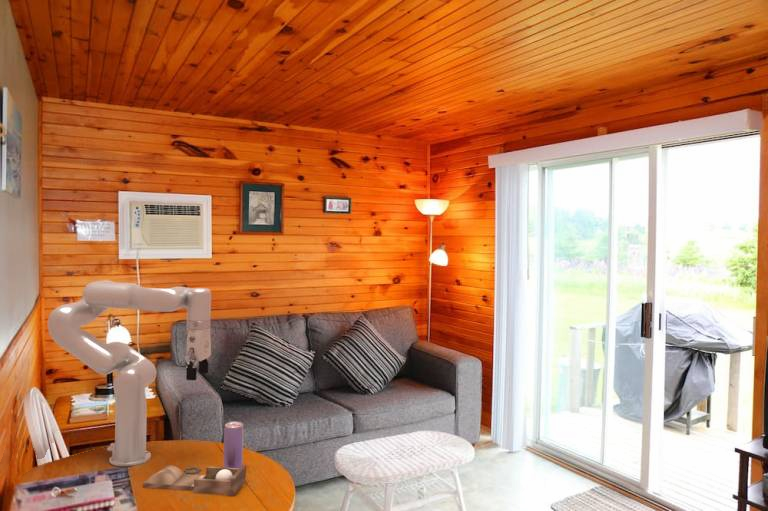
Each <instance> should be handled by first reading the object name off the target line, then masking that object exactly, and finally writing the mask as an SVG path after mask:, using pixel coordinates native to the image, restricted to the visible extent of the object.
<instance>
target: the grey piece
mask: <svg viewBox="0 0 768 511" xmlns="http://www.w3.org/2000/svg"><path fill="white" fill-rule="evenodd" d="M193 470H194V471H193ZM201 471H202V469H201V468H200V467H198V466H197V467H194V466H191V467H187V468H185V469H184V470H183V473H184V474H189V475H197V474H200V472H201Z"/></svg>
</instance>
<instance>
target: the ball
mask: <svg viewBox="0 0 768 511" xmlns="http://www.w3.org/2000/svg"><path fill="white" fill-rule="evenodd" d="M232 477H233V475H232V473H231V471H229V470H227V469H223V470H221V471H219V472H218V473H217V475H216V480H231V478H232Z"/></svg>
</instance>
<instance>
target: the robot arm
mask: <svg viewBox="0 0 768 511" xmlns="http://www.w3.org/2000/svg"><path fill="white" fill-rule="evenodd" d="M110 308H111V309H125V310H126V309H128V310H133V311H134V310H136V311H137V310H138V311H144V312H159V313H160V312H161V313H162V312H163V313H172V312H175V311H178V310H181V309H186V331H187V337H186V348H185V350H186V352H185V353H186V354H185V356H184V359H185V368H186V370H185V371H186V374H185V376H186V378H185V379H186V381H196V380H197V369H198V374H209V361H210V358H209V357H211V354H212V340H211V335H212V334H211V317H212V316H211V313H212V312H211V311H212V310H211V308H212V292H211V290H210V288H207V287H193V288H192V287H185V286H173V287H169V288H157V287H145V286H140V285H139V284H138V283H135V282H116V281H113V280H110V279H109V280H108V279H104V280H95V281H92V282H90V283H87V285H85V286H84V288H83V290H82V293H81V299H79V300H78V301H75V302H71V303H66V304H63V305H59V306H57V307H55V308H54V309H53V310H52V311H51V313H50V314H49V316H48V318H47V329H48V330H47V331H48V333H49V336H50V338H51V339H52V340H53V342H54V343H56V344H57V345H58V346H59V347H60V348H62V349H64V350H65V351H66V352H68V353H69V354H71V355H72V356H74V357H75V358H77V360H79V361H81V362H82V363H83V364H85V365H86V366H88V367H89V368H90V369H91V370H93V371H95V372H96V373H97V374H99V375H103V376H104V375H109V374H111V373H113V372H114V373H115V372H117V373H115V376H114V379H113V384H112V385H113V386H112V387H113V393H114V401H115V407H114V409H115V415H114V416H115V420H114V421H115V422H114V423H115V424H114V426H115V427H114V429H115V430H114V432H115V433H114V442H111V443H110V444H109V446H107V449H106V451H107V452H111V453H112V454H111V456H109V459H108V460H109V461H108V462H109V463H110V465H112V466H115V467H131V466H132V467H134V466H138V465H141V464H144V463H146V462H148V461H149V460H150V459H151V458H152V457H151V456H152V454H151V452H150V451H148V450H147V415H148V414H147V412H148V409H147V408H148V407H147V406H148V405H147V397H146V388H147V387H149V386H150V385H151V384H152V383H153V382H154V381H155V380H156V378H157V375H158V373H157V368H156V366H155V364H154V363H153V362H152V361H151V360H150V359H148V358H147V357H145V356H144V355H142V354H141V353H139V352H138V351H137V350H135V349H134V348H133V347H131V346H129V345H128V344H126V343H124V342H120V341H112V342H109V343H106V342H104V341H102V340H101V339H99V338H98V337H96V336H95V335H93V334H92V333H91V332H88V331H85V330H84V329H81V327H84V326H87V325H89V324H91V323H93V322H94V321H95V320H96V319H97V318H99V317H100V316H101V315H102V314H103V313H104V312H106V311H107V310H108V309H110ZM197 364H198V368H197V367H196V366H197Z"/></svg>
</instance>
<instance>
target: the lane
mask: <svg viewBox="0 0 768 511" xmlns="http://www.w3.org/2000/svg"><path fill="white" fill-rule="evenodd" d="M223 469H227V470H229V471H231V473H232V475H233V477H232V478H231V480H216V475H217V473H218V472H219V471H221V470H223ZM246 477H247V465H242V466H241V467H240V468H226V467H222V466H210V465H209V466H206V468H205V475H203V474H201V475H200V474H192V475H191V474H186V473H184V472H182V470H181V469H180V468H179V467H177V466H175V465H166V466H164V467H163V468H162V469H160V470H159V471H157V472H154V473H153V474H152V475H150V476H149V477H148V478H147V479H146V480H145V481H144V482H142V488H143V489H144V488H145V489H159V490H161V489H162V490H174V491H191V492H193V493H195V494H208V495H210V494H211V495H212V494H213V495H226V496H229V497H231V496H232V497H234V496H236V495H237V493H238V492H239V491H240V490H241V489H242V487H243V486H244V484H245V483H246V480H247V478H246Z"/></svg>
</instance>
